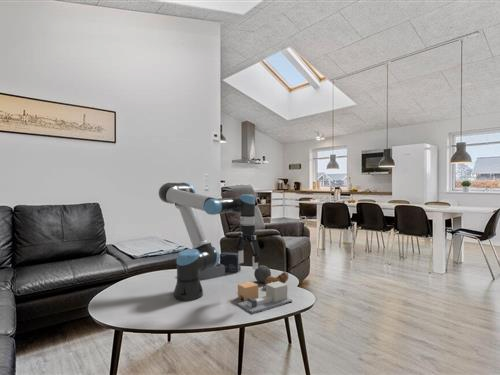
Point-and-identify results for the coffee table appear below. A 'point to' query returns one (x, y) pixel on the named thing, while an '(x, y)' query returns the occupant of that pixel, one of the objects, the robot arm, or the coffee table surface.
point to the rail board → (263, 306)
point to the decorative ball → (262, 273)
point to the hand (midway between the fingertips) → (247, 265)
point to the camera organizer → (212, 272)
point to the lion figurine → (277, 278)
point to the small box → (230, 262)
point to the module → (247, 290)
